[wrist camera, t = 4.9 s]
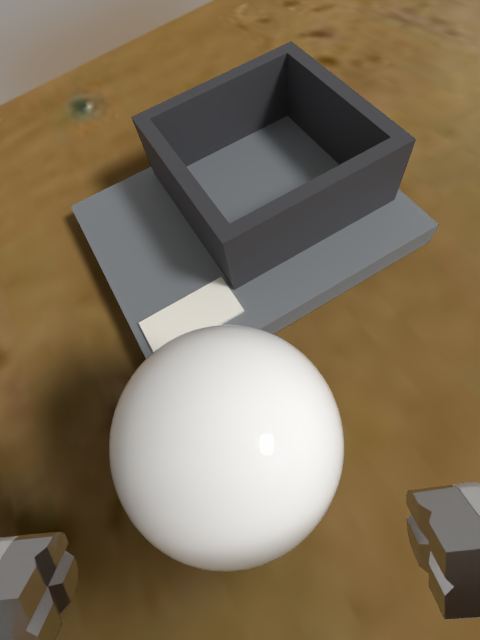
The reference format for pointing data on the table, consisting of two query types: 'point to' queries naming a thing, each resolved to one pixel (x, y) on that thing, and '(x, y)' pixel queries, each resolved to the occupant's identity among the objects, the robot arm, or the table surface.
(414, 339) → the table surface
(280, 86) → the socket board
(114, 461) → the lightbulb
